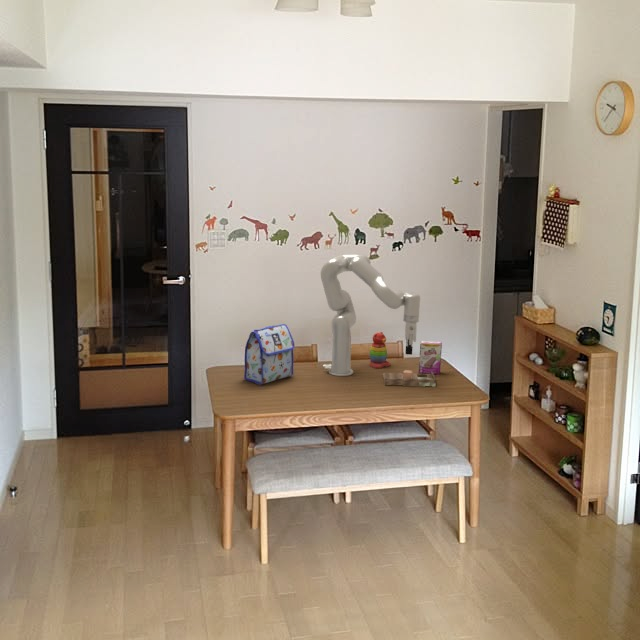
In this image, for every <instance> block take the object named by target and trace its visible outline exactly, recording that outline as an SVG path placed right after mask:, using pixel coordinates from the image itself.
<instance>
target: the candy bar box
mask: <svg viewBox="0 0 640 640" xmlns="http://www.w3.org/2000/svg"><path fill="white" fill-rule="evenodd" d="M442 344H443V343H442V342H441V341H427V340H420V343H419V357H418V358H419V360H418V374H431V371H433V374H434V375H440V374H441V366H442V365H441V363H442V351H443V350H442V349H443V348H442V347H443V345H442Z"/></svg>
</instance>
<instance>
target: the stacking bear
mask: <svg viewBox="0 0 640 640" xmlns="http://www.w3.org/2000/svg"><path fill="white" fill-rule="evenodd" d="M386 341H387V338H386V336H385V334H384V333H383V332H382V331H380V332H376V333H374V334H373V336H372V342H373V343H372V344H371V346H370V348H369V354H368V355H369V359H370V361H369V366H370V367H371V368H374V369H378V368H379V369H382V368H384V366H386V367H390V366H391V362H390V361H387V356H388V350H387V345H386ZM389 365H390V366H389Z"/></svg>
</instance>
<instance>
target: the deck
mask: <svg viewBox="0 0 640 640" xmlns="http://www.w3.org/2000/svg"><path fill="white" fill-rule="evenodd" d="M382 377H383V378H384V379H383V378H382V379H383V383H384V384H385V385H403V386H402V387H425V386H432V388H434V387H435V388H436V384H437V379H436V376H435V374H433V371H431V374H424V373H412V379H403V373H400V372H398V373H397V372H393V373H392V372H383V373H382ZM385 385H384V386H385Z"/></svg>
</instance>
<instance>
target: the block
mask: <svg viewBox="0 0 640 640" xmlns="http://www.w3.org/2000/svg"><path fill="white" fill-rule="evenodd" d="M413 373H414V372H413V370H408V369H407V370H406V369H405V370H403V379H412V374H413Z"/></svg>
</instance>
